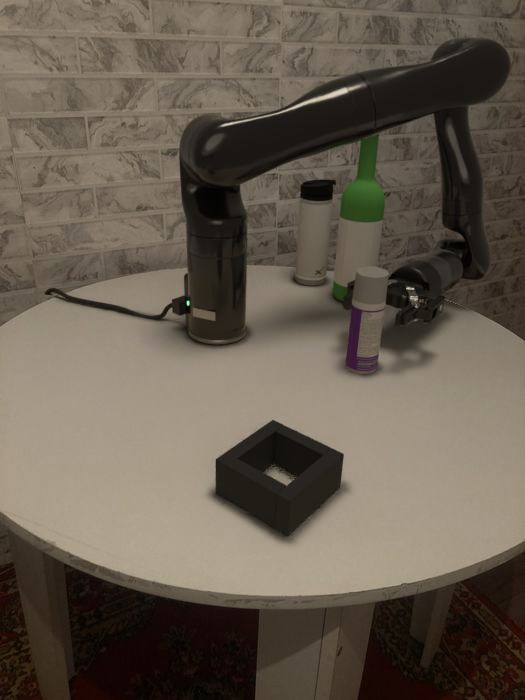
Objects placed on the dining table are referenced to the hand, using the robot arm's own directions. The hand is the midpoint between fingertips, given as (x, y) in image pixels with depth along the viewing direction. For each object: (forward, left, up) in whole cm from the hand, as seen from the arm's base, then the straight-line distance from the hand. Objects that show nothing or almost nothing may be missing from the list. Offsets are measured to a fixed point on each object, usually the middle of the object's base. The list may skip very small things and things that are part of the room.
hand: (371, 312), depth 86 cm
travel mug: (-28, +21, -9) cm, 36 cm away
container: (0, -1, -9) cm, 9 cm away
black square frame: (+10, -30, -9) cm, 33 cm away
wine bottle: (-17, +20, -9) cm, 27 cm away
